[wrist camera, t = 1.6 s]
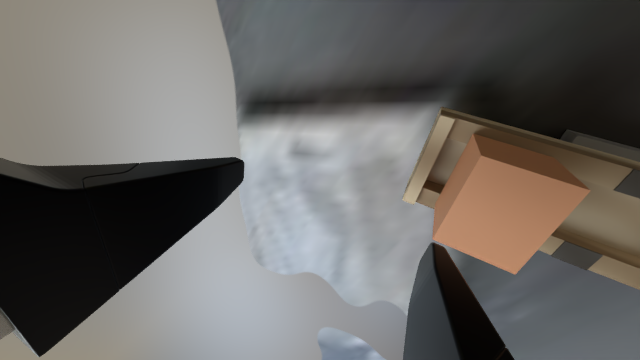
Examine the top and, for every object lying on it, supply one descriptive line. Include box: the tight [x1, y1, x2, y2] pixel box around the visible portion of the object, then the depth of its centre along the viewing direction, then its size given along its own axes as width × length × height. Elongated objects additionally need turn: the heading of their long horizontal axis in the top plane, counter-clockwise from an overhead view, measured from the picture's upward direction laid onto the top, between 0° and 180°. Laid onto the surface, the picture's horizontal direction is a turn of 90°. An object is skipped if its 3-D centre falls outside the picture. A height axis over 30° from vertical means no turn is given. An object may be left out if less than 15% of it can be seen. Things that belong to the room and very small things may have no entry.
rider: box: [433, 134, 591, 274], centre depth 14 cm, size 5×4×6 cm
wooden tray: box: [403, 107, 640, 290], centre depth 15 cm, size 7×20×5 cm, turn 78°
